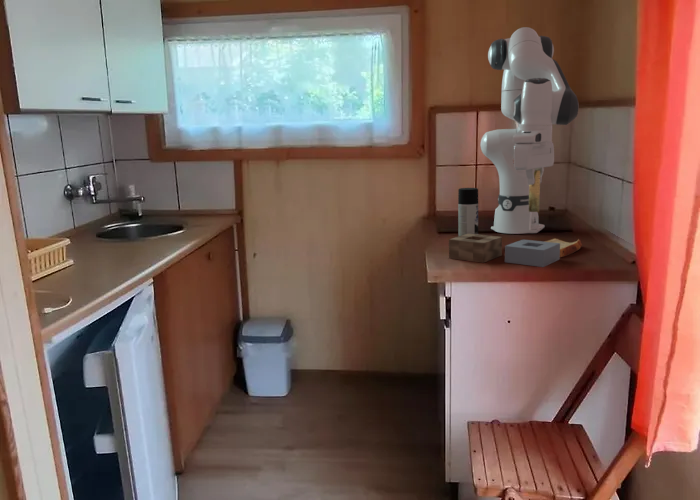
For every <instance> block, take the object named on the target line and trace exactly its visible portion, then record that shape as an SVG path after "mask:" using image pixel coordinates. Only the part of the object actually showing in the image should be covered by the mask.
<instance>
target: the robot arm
mask: <svg viewBox="0 0 700 500" xmlns="http://www.w3.org/2000/svg"><path fill="white" fill-rule="evenodd" d="M554 53H555V48H554V44H553V40H552V39H551V38H550V36H545V35H539V34H538V33H537V31H536V30H535V29H533V28H531V27H527V26H526V27H525V26H524V27H520V28H518V29H516V30H515V31H513V33H512V34H511V36H510V37H508V38H498V39H496V40H494V41H492V43H491V44H490V47H489V48H488V52H487V59H488V62H489V65H490V68H492V69H493V70H496V71H502V70H503V73H502V80H501V100H500V104H501V105H500V106H501V107H500V109H501V110H500V111H501V113H502V115H503V116H504V117H506V118H508V119H510V120H512V121H514V122H516V124H517V128H503V129H502V128H499V129H494V130H493V129H492V130H490V131H486V132H485V133H484V134H483V135H482V136H481V139H480V150H481V153H482V154H483V155H484V157H486V158H487V159H489V161H491V163H492V164H493V165H494V167H495V168H496V171H497V174H498V182H499V183H498V184H499V194H498V195H497V197H498V198H497V203H498V206H497V207H496V208H495V211H494V217H493V218H494V221H493V226H491V227H490V229H491V230H493V231H494V232H497V233H501V234H510V235H511V234H512V235H514V234H518V235H519V234H537V233H539V232H540V231H542V230H543V229H545V224H542V223H539V212H529V185H533V184H535V178H534V172H535V170H540V184H542V180H543V179H542V177H543V175H544V172H545V168H549V167H553V166H554V163H555V145H554V142H553V125H559V126H561V125H562V126H567V125H569V124H570V123H571V122H573V120H575V119H576V118H577V117H578V114H579V99H578V96H577V95H576V94H575V92H574V91H573V90H572V88H571V87H570V84H569V82H568V80H567V78H566V75H565V74H564V72H563V70H562V68H561V66H560V65H559V63H558V61H556V60H555V59H553V56H554Z"/></svg>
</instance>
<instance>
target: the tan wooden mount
mask: <svg viewBox="0 0 700 500" xmlns="http://www.w3.org/2000/svg"><path fill="white" fill-rule="evenodd" d="M502 246H503V237H502V236H496V235H487V234H486V235H485V234H479V233H478V234H465V235H462V236H459V235H458V236H454V237H453V238H450V239H448V259H453V260H461V261H469V262H476V263H487V262H489V261H491V260H494V259H497V258H499V257H502V255H503V254H502V253H503V250H502V249H503V247H502Z"/></svg>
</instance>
